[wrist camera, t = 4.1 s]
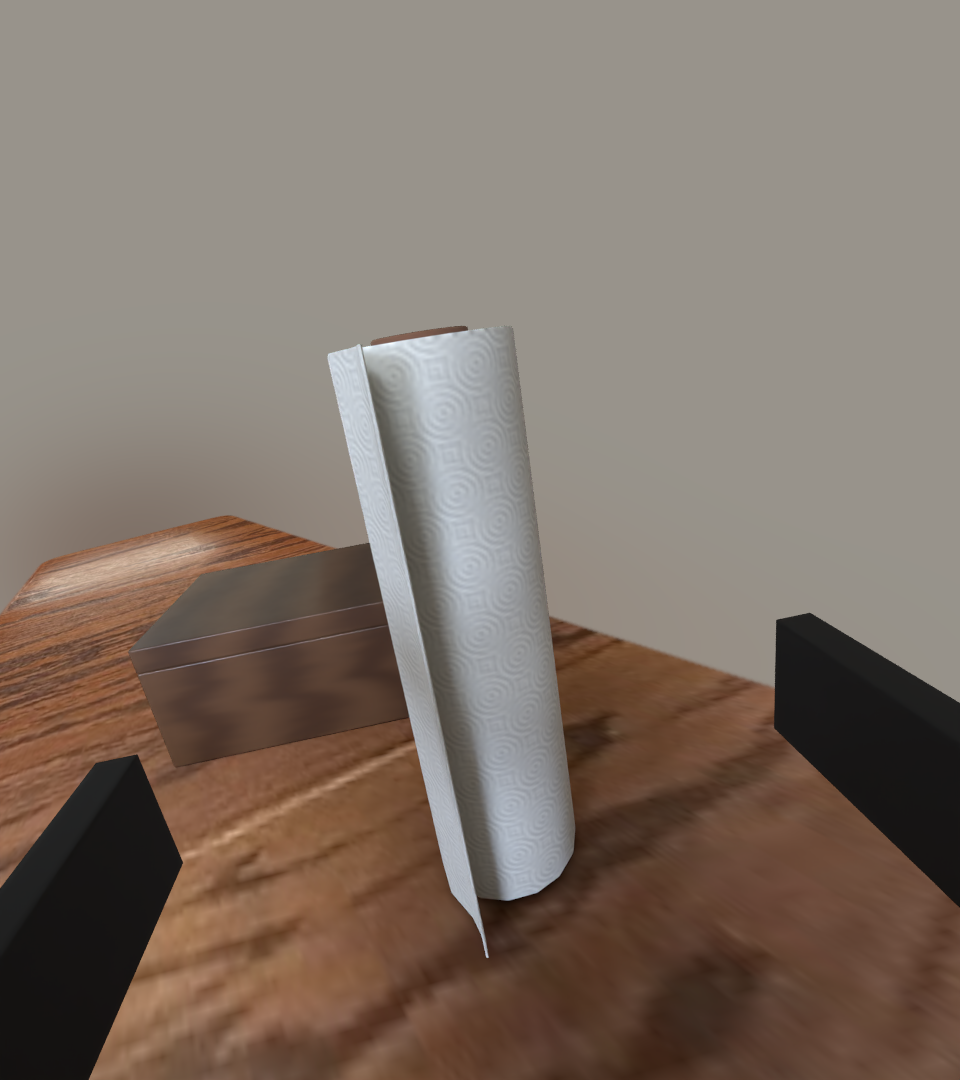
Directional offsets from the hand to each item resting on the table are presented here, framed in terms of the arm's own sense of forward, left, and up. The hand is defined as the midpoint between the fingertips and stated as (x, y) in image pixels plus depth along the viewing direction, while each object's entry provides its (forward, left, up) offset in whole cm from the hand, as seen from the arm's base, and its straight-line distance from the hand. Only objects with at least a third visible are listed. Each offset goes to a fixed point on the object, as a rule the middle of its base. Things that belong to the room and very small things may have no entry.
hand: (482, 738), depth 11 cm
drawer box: (+10, -26, -13) cm, 31 cm away
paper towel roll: (0, -9, -13) cm, 16 cm away
